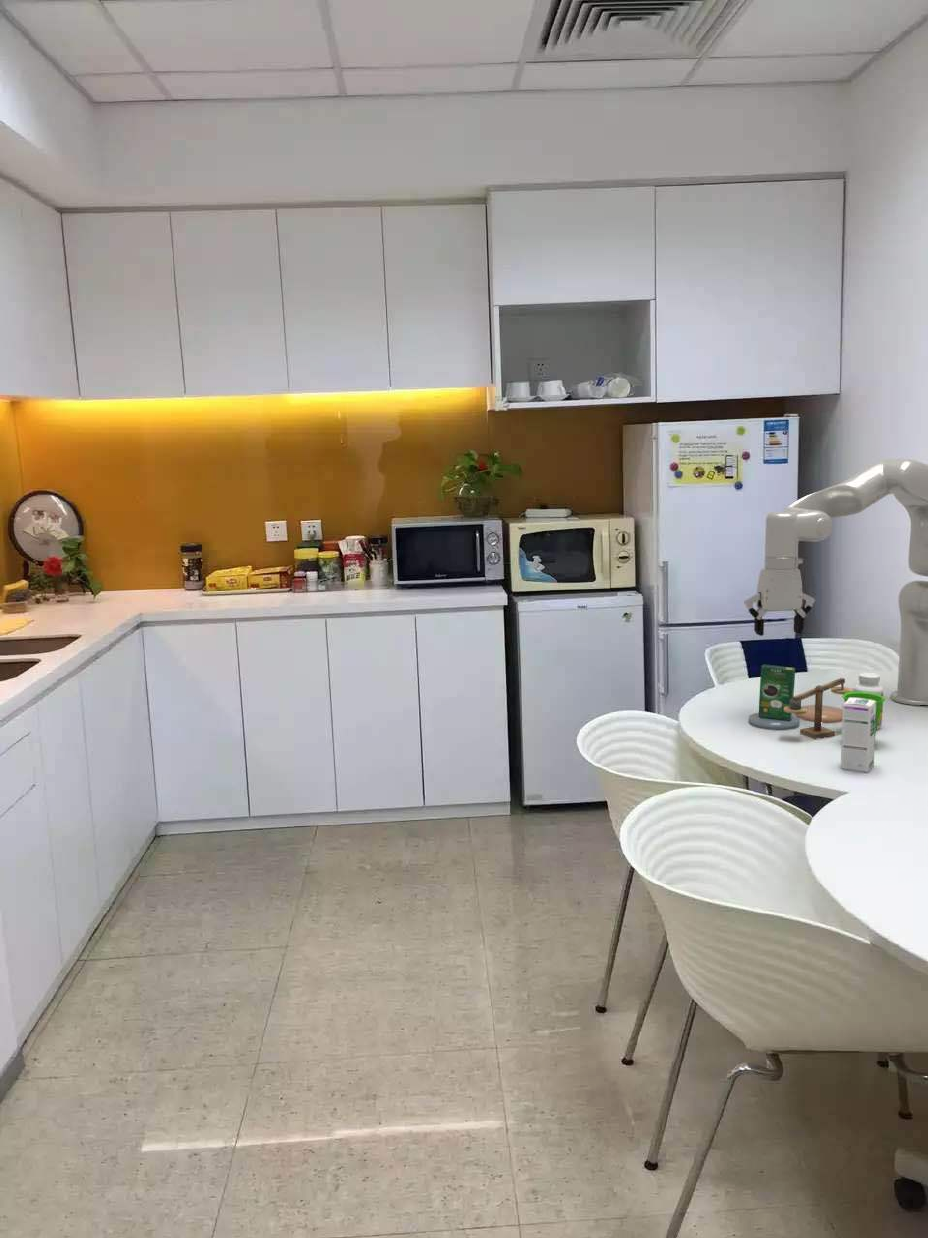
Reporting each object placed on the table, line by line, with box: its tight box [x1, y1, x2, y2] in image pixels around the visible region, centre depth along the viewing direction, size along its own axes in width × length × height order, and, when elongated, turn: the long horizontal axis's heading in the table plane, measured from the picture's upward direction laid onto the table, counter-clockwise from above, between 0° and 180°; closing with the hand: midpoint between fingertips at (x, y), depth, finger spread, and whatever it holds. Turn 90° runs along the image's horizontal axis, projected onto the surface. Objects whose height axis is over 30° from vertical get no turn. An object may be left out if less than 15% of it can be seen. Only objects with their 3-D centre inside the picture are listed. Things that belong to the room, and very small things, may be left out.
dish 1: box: [748, 712, 801, 731], centre depth 247 cm, size 12×12×1 cm
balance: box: [784, 677, 854, 740], centre depth 236 cm, size 19×5×13 cm, turn 112°
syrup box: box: [840, 697, 876, 773], centre depth 213 cm, size 6×6×14 cm
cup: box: [841, 692, 886, 736], centre depth 229 cm, size 9×9×11 cm
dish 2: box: [795, 704, 843, 724], centre depth 252 cm, size 12×12×1 cm
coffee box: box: [758, 664, 796, 721], centre depth 246 cm, size 8×3×13 cm, turn 61°
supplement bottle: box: [853, 672, 884, 730], centre depth 241 cm, size 7×7×13 cm
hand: (778, 633), depth 244 cm, fingers open, 9 cm apart
